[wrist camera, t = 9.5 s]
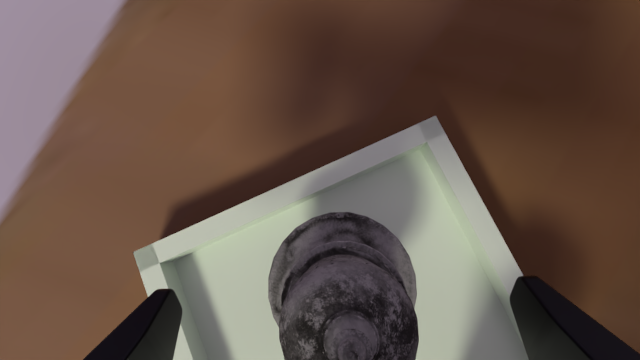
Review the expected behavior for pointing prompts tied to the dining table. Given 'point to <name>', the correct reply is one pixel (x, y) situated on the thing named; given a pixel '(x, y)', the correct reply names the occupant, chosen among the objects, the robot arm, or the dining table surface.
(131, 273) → the dining table surface
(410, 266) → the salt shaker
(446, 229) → the tray
